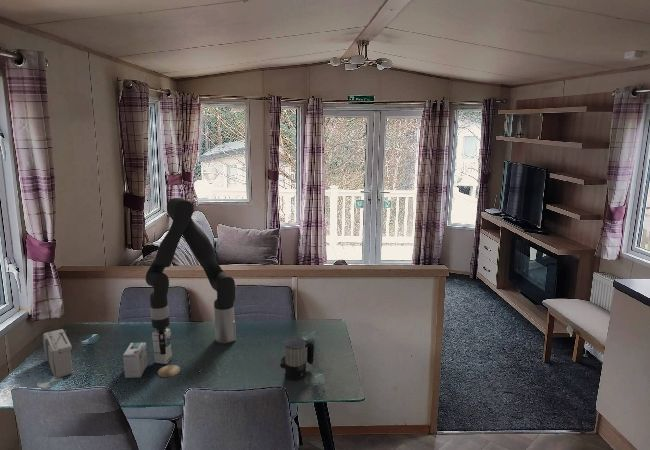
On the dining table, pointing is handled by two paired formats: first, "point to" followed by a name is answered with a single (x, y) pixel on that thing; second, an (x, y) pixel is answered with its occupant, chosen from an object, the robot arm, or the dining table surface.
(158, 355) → the syrup box
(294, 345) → the milk frother
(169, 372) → the cork coaster
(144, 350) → the light bulb box
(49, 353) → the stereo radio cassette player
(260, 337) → the dining table surface
